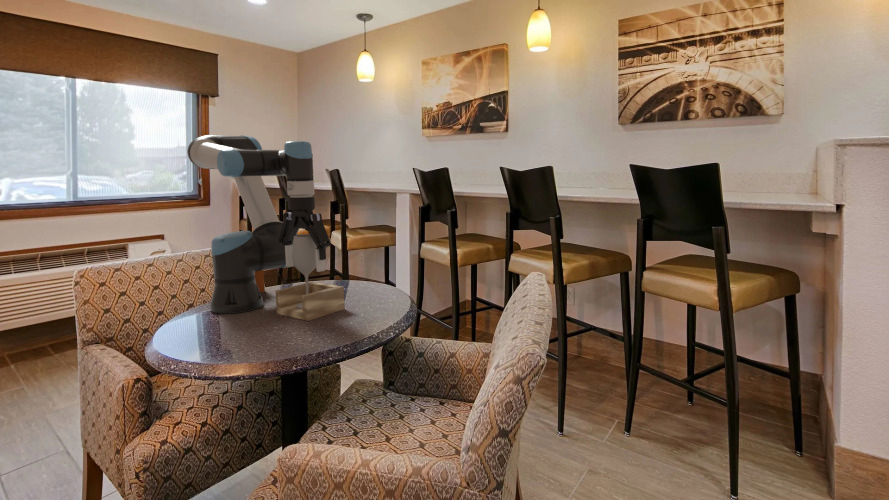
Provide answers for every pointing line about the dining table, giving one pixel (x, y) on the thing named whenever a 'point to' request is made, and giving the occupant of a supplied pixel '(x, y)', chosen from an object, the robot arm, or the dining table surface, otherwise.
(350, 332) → the dining table surface
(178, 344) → the dining table surface
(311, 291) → the tan wooden open box
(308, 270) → the wineglass
